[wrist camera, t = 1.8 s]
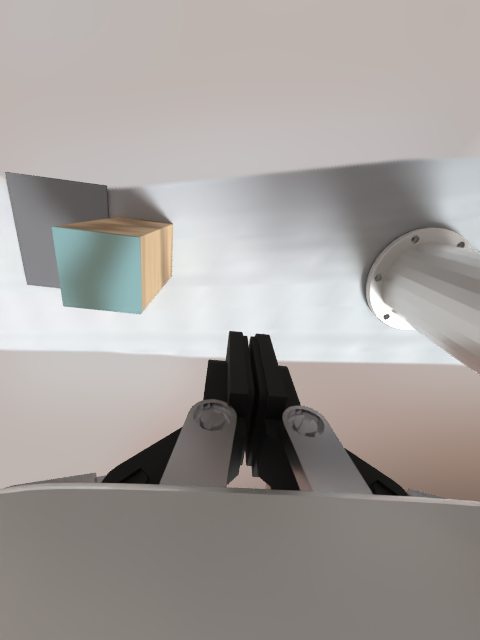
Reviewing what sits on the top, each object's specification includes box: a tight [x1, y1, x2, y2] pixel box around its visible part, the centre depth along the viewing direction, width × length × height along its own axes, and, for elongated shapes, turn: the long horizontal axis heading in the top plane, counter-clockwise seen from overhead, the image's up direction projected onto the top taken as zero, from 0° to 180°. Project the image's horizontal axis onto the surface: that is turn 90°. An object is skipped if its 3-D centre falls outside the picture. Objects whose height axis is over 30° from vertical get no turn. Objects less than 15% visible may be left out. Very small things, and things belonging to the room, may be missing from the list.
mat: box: [5, 172, 109, 288], centre depth 30 cm, size 10×12×1 cm
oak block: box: [52, 217, 173, 314], centre depth 26 cm, size 6×6×12 cm
